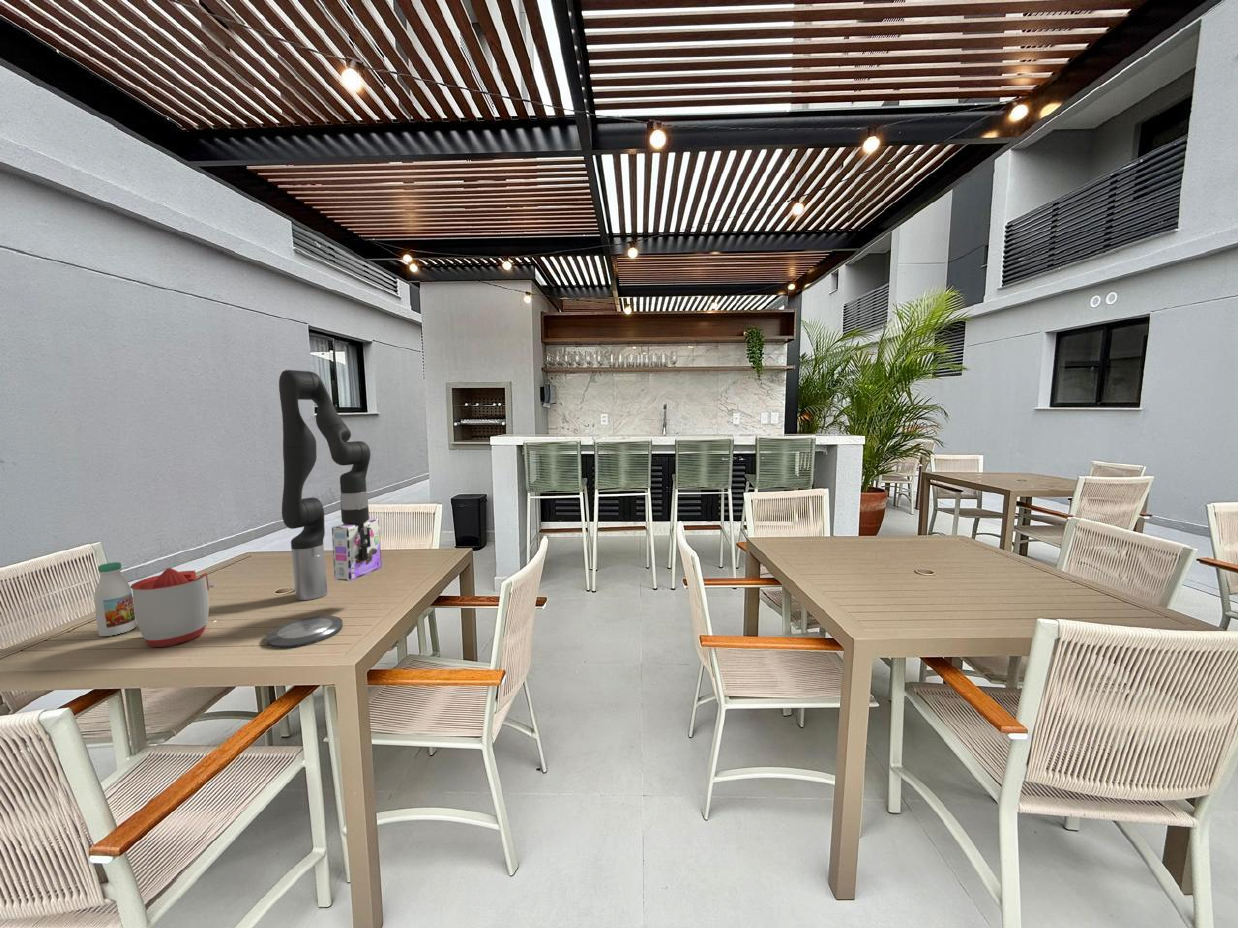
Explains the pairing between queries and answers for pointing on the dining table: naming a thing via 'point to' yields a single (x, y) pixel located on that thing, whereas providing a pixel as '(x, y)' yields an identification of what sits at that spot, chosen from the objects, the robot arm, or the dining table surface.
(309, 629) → the metal plate
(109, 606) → the milk bottle
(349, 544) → the candy box
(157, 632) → the citrus juicer
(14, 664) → the dining table surface
